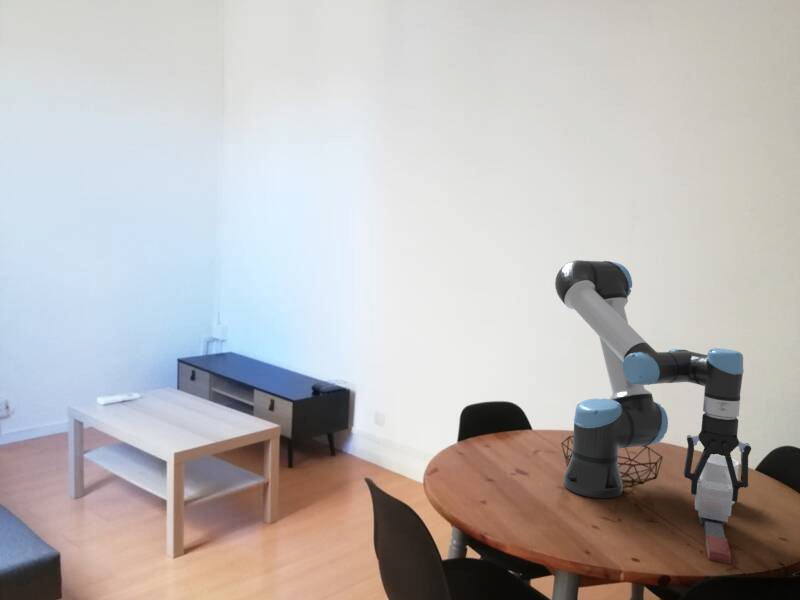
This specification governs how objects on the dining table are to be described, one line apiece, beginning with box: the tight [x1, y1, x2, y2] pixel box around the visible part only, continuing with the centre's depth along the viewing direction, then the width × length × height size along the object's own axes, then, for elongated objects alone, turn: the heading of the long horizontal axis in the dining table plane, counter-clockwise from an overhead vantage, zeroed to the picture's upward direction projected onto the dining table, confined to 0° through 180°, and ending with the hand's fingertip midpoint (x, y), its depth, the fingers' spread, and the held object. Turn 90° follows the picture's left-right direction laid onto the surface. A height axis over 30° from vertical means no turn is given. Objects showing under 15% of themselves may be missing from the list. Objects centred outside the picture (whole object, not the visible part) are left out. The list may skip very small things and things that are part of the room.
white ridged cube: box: [697, 479, 730, 523], centre depth 145 cm, size 6×6×7 cm
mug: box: [699, 454, 740, 506], centre depth 158 cm, size 9×12×11 cm
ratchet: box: [698, 516, 732, 565], centre depth 137 cm, size 23×5×6 cm, turn 157°
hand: (712, 510), depth 146 cm, fingers closed on white ridged cube, 6 cm apart
